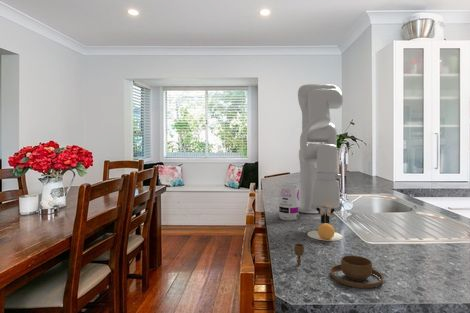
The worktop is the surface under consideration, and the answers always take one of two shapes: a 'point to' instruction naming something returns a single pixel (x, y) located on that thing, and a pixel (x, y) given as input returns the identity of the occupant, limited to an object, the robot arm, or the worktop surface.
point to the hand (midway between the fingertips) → (324, 225)
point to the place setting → (349, 269)
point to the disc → (315, 235)
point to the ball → (326, 231)
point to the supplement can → (288, 201)
